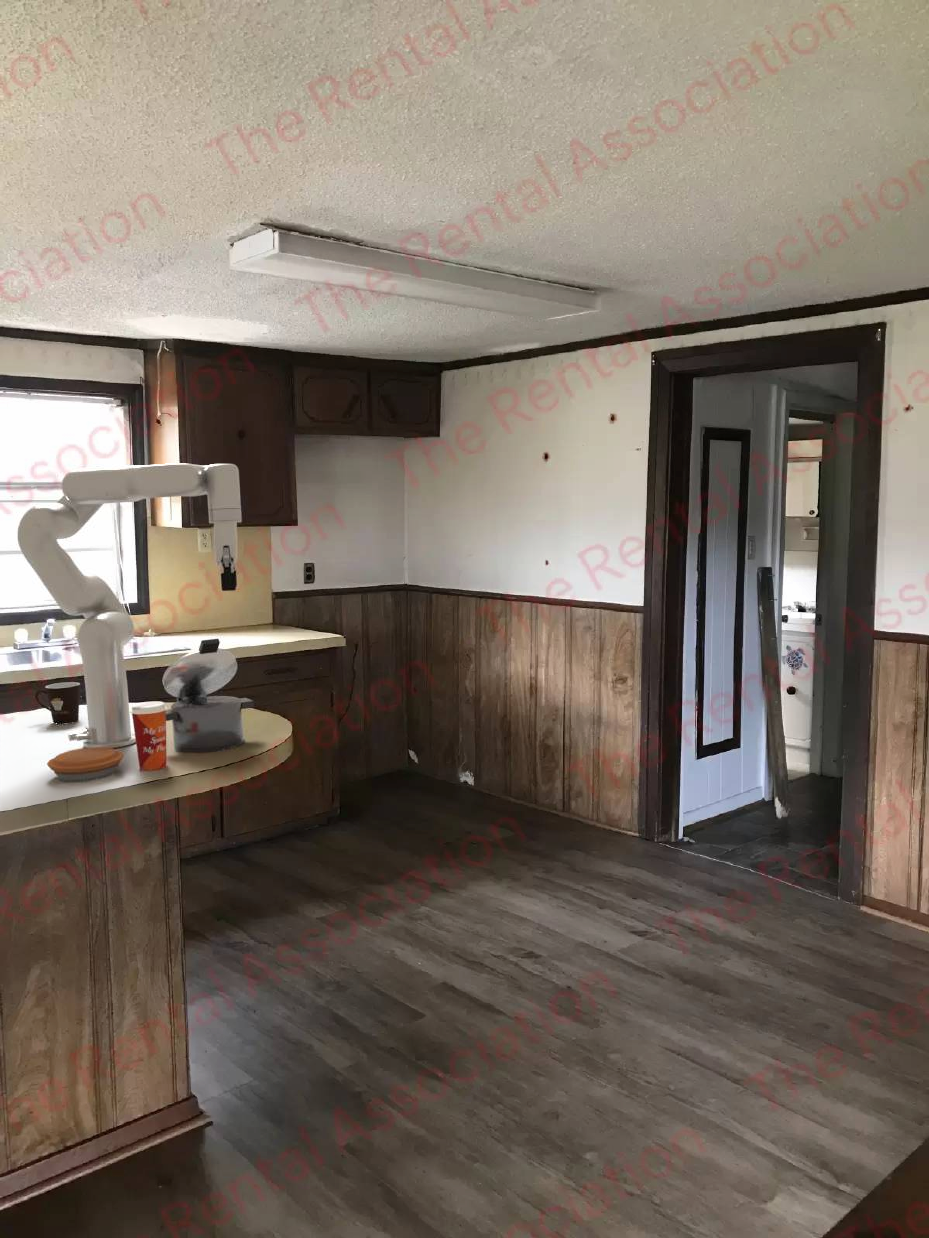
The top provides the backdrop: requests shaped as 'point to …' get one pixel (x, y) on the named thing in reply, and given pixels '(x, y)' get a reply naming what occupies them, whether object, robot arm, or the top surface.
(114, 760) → the pie
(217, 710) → the cooker pot
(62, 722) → the coffee mug
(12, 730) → the top surface
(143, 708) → the paper cup
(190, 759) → the top surface
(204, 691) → the cooker lid
